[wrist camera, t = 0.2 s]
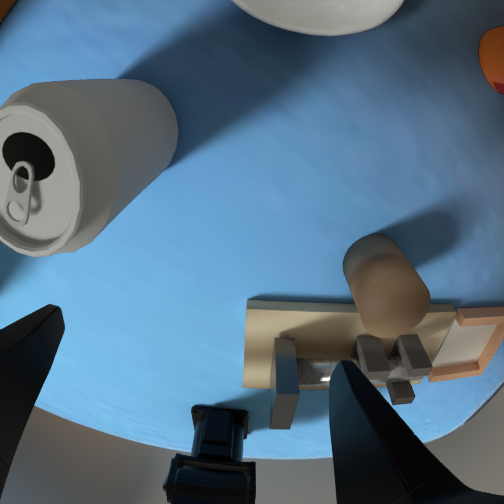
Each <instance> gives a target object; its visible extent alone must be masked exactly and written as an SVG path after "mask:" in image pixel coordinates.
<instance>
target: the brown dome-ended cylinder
mask: <svg viewBox="0 0 504 504" xmlns="http://www.w3.org/2000/svg"><path fill="white" fill-rule="evenodd" d="M343 272H344V275H345V277H346V280H347V283H348V285H349V288H350V291H351V293H352V296H353V299H354V302H355V304H356V307H357V310H358V313H359V316H360V319H361V321H362V324H363V326H364V328H365V330H366V331H367V332H368V333H369V334H371V335H373V336H375V337H379V338H393V337H397V336H400V335H403V334H405V333H407V332H409V331H410V330H412V329H413V328H415V327H416V326H417V325H418V324H419V323H420V322H421V321H422V320H423V318H424V317H425V315H426V314H427V311H428V309H429V306H430V292H429V290H428V288H427V287H426V285H425V284H424V282H423V281H422V279H421V278H420V276H419V275H418V273H417V272H416V270H415V269H414V268H413V266H412V265H411V263H410V262H409V260H408V259H407V258H406V256H405V255H404V253H403V252H402V251H401V249H400V248H399V247H398V245H397V244H396V243H395V241H394V240H393V239H391V238H390V237H388V236H385V235H381V234H372V235H367V236H365V237H362V238H360V239H359V240H357V241H356V242H355V243H353V244H352V245H351V246H350V248H349V249H348V250H347V252H346V254H345V256H344V260H343Z"/></svg>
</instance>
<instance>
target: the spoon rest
mask: <svg viewBox="0 0 504 504" xmlns="http://www.w3.org/2000/svg"><path fill="white" fill-rule="evenodd" d="M232 1H233V2H234V3H235V4H236V5H237V6H238V7H240V8H241V9H243V10H244V11H245V12H247V13H248V14H250V15H252V16H253V17H255V18H257V19H259V20H261V21H263V22H265V23H268V24H270V25H273V26H276V27H279V28H282V29H285V30H289V31H294V32H299V33H304V34H310V35H320V36H338V35H347V34H354V33H358V32H363V31H366V30H369V29H372V28H374V27H376V26H379V25H380V24H382V23H384V22H385V21H387V20H388V19H389V18H390V17H391V16H392V15H393V14H394V13H395V12H396V11H397V10H398V9H399V8H400V6H401V5H402V3H403V2H404V0H232Z"/></svg>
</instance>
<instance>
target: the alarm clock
mask: <svg viewBox="0 0 504 504" xmlns="http://www.w3.org/2000/svg"><path fill="white" fill-rule="evenodd" d="M15 1H16V0H0V23H1V22H2V20H3V19H4V17H5V16H6V14H7V13H8V11H9V10H10V8H11V7H12V6H13V4H14V3H15Z"/></svg>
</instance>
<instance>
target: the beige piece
mask: <svg viewBox="0 0 504 504" xmlns="http://www.w3.org/2000/svg"><path fill="white" fill-rule="evenodd" d="M455 315H456V310H455V309H454V307H453V306H452V304H430V306H429V309H428V311H427V314H426V315H425V317H424V318H423V320H422V321H421V322H420V323H419V324H418V325H417V326H416V327H415V328H413V329H412V330H410V331H409V332H407V333H405V334H403V335H400V336H397V337H393V338H379V337H375V336H373V335H371V334H369V333H368V332H367V331H366V330H365V328H364V326H363V324H362V321H361V319H360V316H359V313H358V310H357V307H356V304H343V303H310V302H286V301H265V300H247V308H246V329H245V351H244V374H243V388H260V389H270V371H271V363H272V356H273V348H274V340H275V337H279V338H295V349H296V358H359V361H360V365H361V368H362V372H363V373H364V375H365V376H366V377H367V378H368V379H369V380H379V379H388V377H389V375H390V373H391V368H390V365H389V362H388V359H387V356H401V359H402V361H403V364H404V366H405V369H406V371H407V374H408V377H416V376H423V377H424V376H426V375H429V373H430V372H431V370H432V368H433V366H432V364H431V362H432V361H433V359H434V357H435V355H436V353H437V351H438V349H439V347H440V345H441V344H442V342H443V340H444V338H445V336H446V334H447V332H448V329H449V327H450V325H451V323H452V321H453V319H454V317H455ZM423 377H422V378H423ZM421 380H422V379H420V380H414V381H404V382H392V383H378V384H373V385H374V386H375V387H387V388H388V392H389V395H390V398H391V402H392V405H399V404H408V403H412V401H413V400H414V398H415V394H414V391H413V389H412V386H411V384H419V383H420V382H421ZM320 389H329V386H299V390H320Z"/></svg>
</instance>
